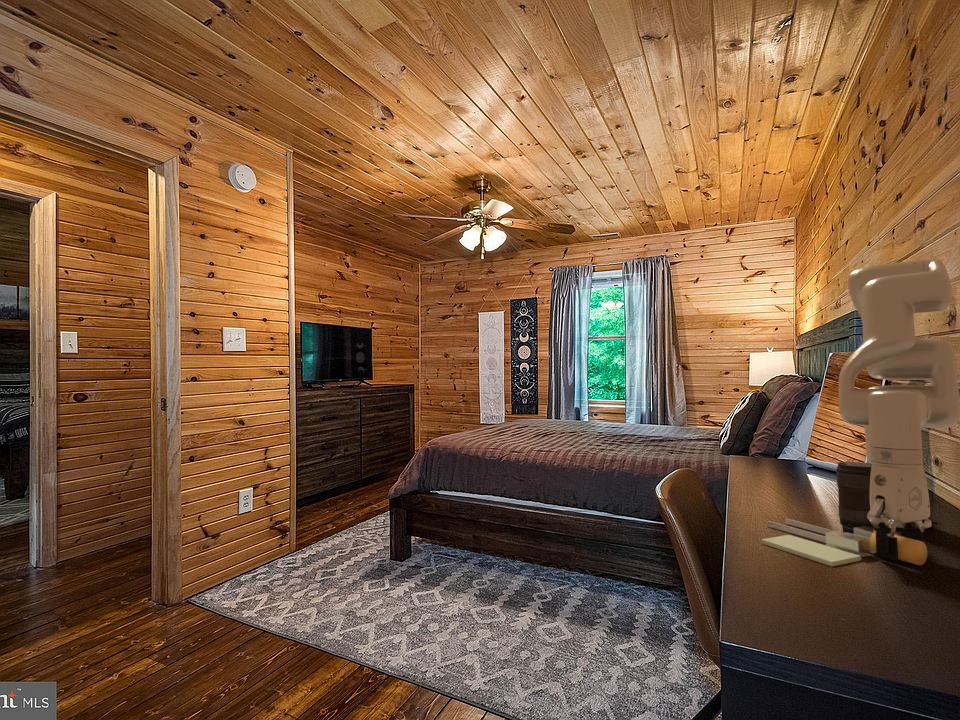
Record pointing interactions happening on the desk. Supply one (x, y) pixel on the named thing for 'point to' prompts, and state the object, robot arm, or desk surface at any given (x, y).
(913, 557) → the plug
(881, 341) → the robot arm
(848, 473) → the camera lens
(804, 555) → the mat
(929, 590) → the desk surface
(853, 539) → the housing
